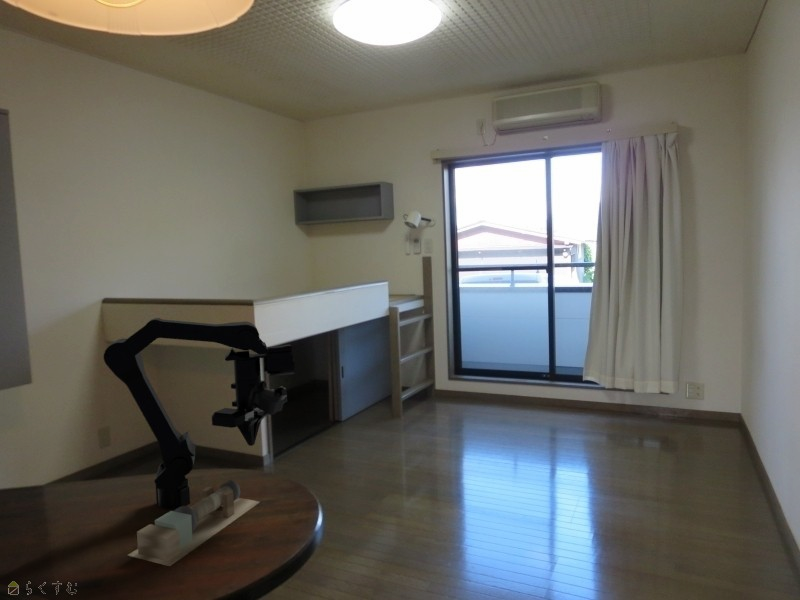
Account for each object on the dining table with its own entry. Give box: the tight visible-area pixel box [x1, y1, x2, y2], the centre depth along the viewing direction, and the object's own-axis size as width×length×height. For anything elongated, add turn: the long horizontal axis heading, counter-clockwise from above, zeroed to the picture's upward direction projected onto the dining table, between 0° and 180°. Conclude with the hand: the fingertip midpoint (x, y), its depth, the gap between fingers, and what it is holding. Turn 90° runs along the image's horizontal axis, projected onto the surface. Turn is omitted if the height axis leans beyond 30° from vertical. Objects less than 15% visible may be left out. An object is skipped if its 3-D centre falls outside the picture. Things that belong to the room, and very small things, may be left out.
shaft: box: [173, 479, 241, 531], centre depth 110 cm, size 5×15×5 cm, turn 158°
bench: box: [127, 486, 261, 567], centre depth 108 cm, size 10×26×6 cm, turn 158°
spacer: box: [154, 510, 193, 548], centre depth 102 cm, size 5×4×5 cm
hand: (251, 445), depth 123 cm, fingers closed
